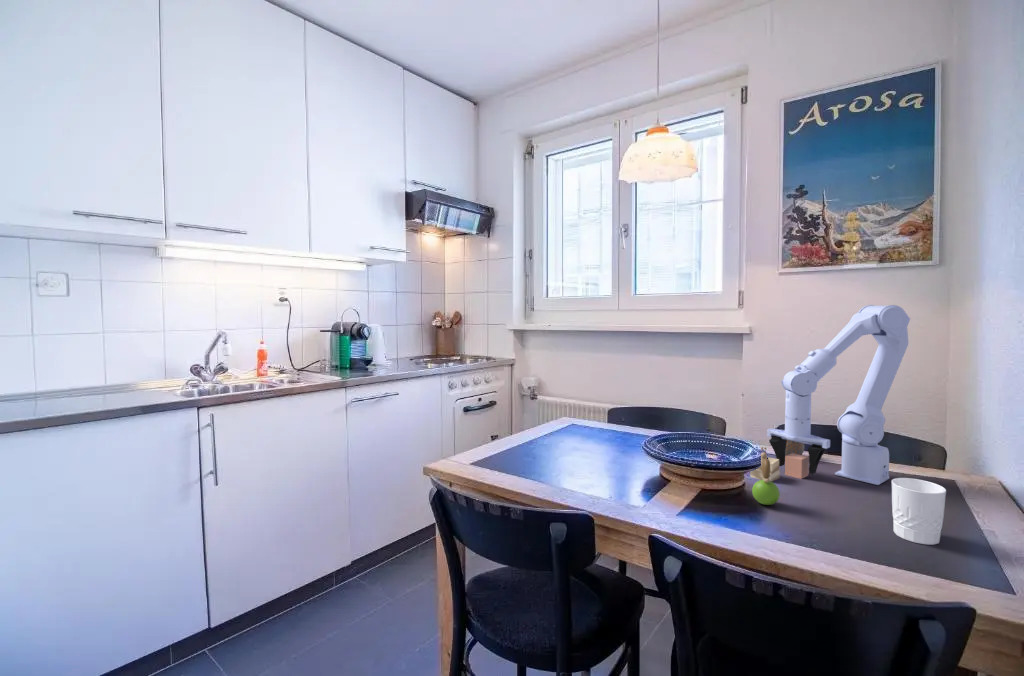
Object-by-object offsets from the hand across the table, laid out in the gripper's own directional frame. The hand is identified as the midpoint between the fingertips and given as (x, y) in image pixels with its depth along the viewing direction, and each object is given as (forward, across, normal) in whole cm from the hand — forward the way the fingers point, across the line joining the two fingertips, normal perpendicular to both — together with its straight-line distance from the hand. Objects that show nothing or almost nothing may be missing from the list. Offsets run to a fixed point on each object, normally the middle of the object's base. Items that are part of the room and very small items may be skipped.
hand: (796, 469), depth 124 cm
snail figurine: (+2, +4, -24) cm, 24 cm away
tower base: (+2, -4, -8) cm, 9 cm away
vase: (+2, -8, +14) cm, 16 cm away
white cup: (+2, +29, -17) cm, 34 cm away
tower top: (-1, -4, -8) cm, 9 cm away
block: (+2, 0, 0) cm, 2 cm away
